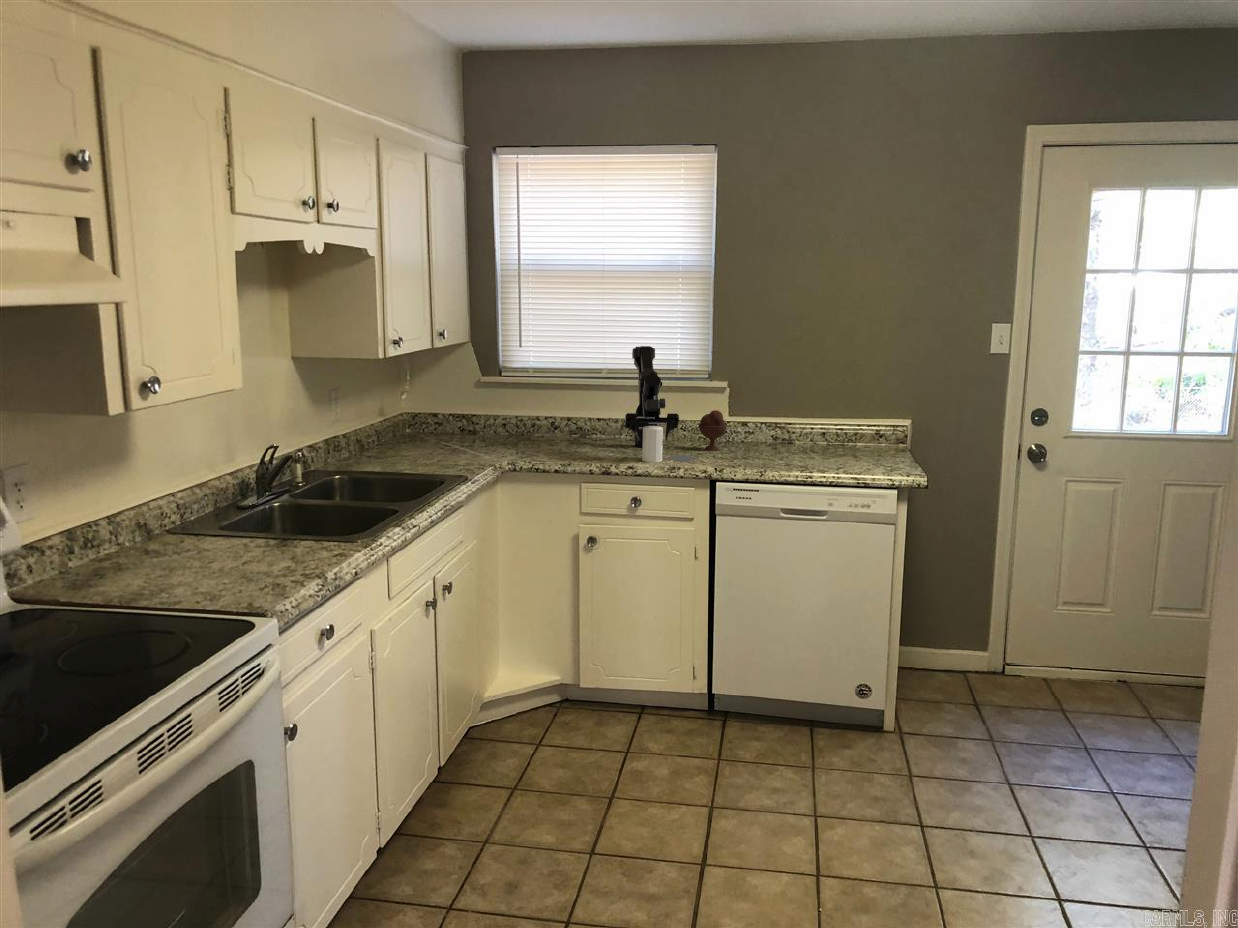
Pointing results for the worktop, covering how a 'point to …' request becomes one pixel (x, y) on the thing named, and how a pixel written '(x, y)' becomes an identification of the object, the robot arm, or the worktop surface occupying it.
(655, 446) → the tumbler
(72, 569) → the worktop surface
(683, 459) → the mat
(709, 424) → the ice cream bowl
